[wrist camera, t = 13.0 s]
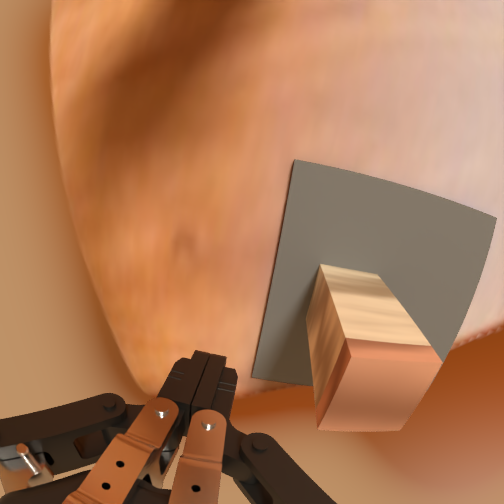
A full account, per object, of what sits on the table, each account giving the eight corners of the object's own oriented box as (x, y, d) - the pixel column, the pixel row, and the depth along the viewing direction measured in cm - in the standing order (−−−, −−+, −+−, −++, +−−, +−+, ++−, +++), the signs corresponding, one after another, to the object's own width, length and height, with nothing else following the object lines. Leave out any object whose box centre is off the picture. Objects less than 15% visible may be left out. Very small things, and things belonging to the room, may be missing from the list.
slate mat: (294, 159, 21) (294, 159, 20) (493, 216, 20) (496, 218, 19) (252, 373, 27) (251, 377, 26) (424, 388, 26) (426, 391, 25)
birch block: (320, 263, 22) (351, 356, 11) (377, 274, 22) (442, 362, 11) (305, 318, 24) (317, 429, 12) (359, 326, 24) (399, 430, 12)
